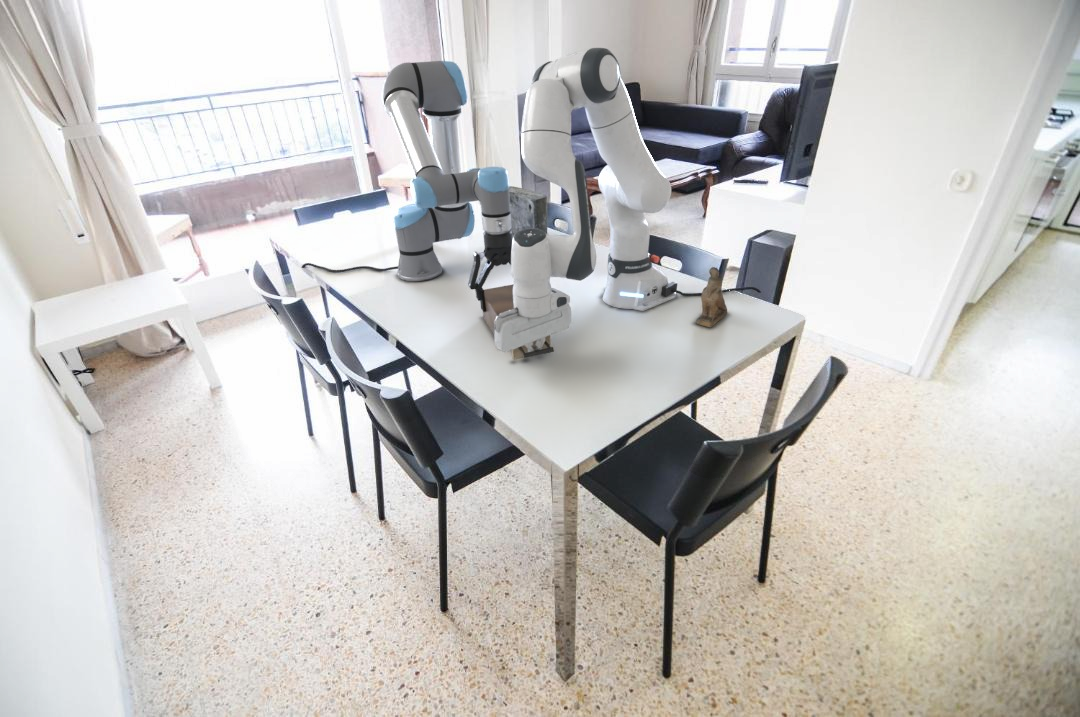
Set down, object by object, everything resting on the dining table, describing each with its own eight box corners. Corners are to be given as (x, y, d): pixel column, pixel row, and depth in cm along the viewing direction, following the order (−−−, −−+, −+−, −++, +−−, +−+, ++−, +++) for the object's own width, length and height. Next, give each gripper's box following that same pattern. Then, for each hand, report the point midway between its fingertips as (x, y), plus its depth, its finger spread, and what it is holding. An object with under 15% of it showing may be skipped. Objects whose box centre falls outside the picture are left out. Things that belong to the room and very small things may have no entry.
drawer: (558, 361, 121) (558, 337, 117) (520, 370, 118) (518, 346, 115) (527, 321, 140) (525, 299, 136) (493, 328, 137) (491, 305, 133)
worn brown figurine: (709, 335, 136) (713, 280, 124) (691, 329, 139) (693, 274, 128) (730, 313, 142) (736, 258, 130) (712, 307, 145) (716, 253, 133)
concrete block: (552, 248, 194) (551, 196, 184) (534, 253, 190) (532, 200, 179) (515, 232, 213) (512, 184, 202) (497, 237, 208) (493, 188, 198)
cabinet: (541, 340, 132) (540, 310, 128) (502, 348, 129) (499, 318, 125) (519, 310, 148) (517, 283, 143) (483, 317, 145) (480, 290, 140)
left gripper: (456, 240, 124) (466, 319, 135) (544, 228, 130) (546, 304, 142) (450, 232, 130) (460, 308, 141) (534, 220, 136) (537, 294, 148)
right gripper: (501, 320, 106) (506, 374, 113) (575, 294, 116) (575, 346, 123) (486, 310, 110) (491, 363, 118) (558, 286, 120) (559, 336, 128)
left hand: (503, 306), depth 142 cm, fingers closed on cabinet, 11 cm apart
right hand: (534, 354), depth 120 cm, fingers closed
